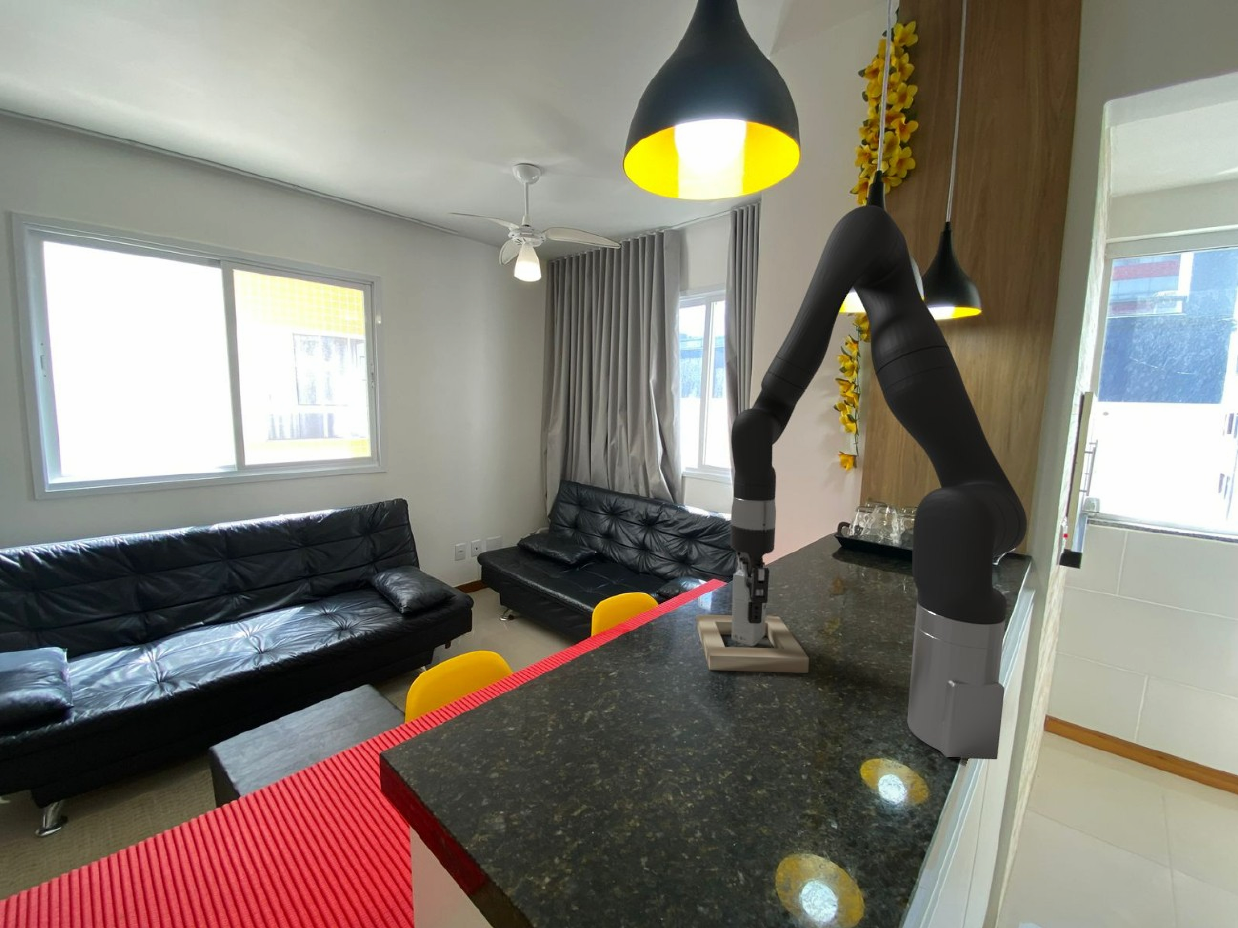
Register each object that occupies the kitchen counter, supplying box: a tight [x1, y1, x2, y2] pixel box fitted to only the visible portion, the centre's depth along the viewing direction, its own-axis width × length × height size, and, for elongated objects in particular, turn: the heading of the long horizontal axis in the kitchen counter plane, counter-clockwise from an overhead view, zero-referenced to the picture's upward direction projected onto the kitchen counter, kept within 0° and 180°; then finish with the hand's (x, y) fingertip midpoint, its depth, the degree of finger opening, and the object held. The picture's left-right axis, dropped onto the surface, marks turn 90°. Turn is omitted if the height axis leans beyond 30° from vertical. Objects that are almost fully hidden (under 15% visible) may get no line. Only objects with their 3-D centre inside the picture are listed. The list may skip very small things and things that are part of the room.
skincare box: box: [731, 569, 767, 647], centre depth 85 cm, size 6×4×12 cm
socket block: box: [696, 614, 810, 674], centre depth 86 cm, size 16×16×2 cm
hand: (748, 613), depth 85 cm, fingers closed on skincare box, 7 cm apart
